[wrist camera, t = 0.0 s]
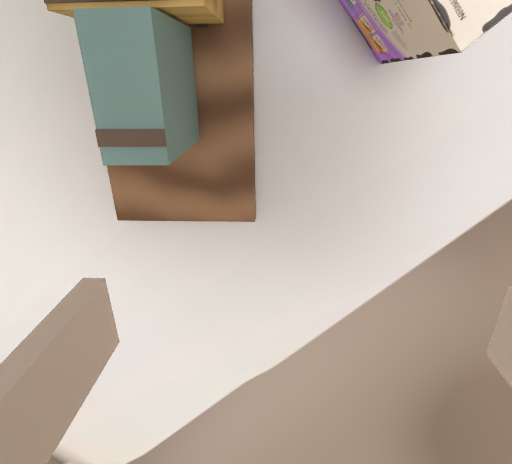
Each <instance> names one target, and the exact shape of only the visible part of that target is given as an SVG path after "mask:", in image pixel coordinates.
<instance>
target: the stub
mask: <svg viewBox="0 0 512 464" xmlns="http://www.w3.org/2000/svg"><path fill="white" fill-rule="evenodd" d="M73 13H74V18H75V23H76V28H77V34H78V39H79V44H80V49H81V54H82V59H83V64H84V69H85V74H86V79H87V84H88V89H89V94H90V99H91V104H92V109H93V114H94V119H95V124H96V130H95V132H96V137H97V142H98V147H100V150H101V155H102V160H103V165H170V164H171V163H173V162H174V161H175V160H176V159H177V158H179V157H180V156H181V155H182V154H183V153H185V152H186V151H187V150H188V149H189V148H191V147H192V146H193V145H194V144H195V143H197V142H198V141H199V140H200V135H199V123H198V110H197V98H196V85H195V73H194V60H193V48H192V35H191V27H189V26H187V25H185V24H183V23H181V22H179V21H177V20H175V19H173V18H172V17H170V16H168V15H166V14H164V13H162V12H160V11H158V10H156V9H154V8H152V7H150V6H145V7H110V8H74V9H73Z"/></svg>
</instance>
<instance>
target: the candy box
mask: <svg viewBox="0 0 512 464" xmlns="http://www.w3.org/2000/svg"><path fill="white" fill-rule="evenodd" d="M340 2H341V3H342V5H343V6H344V8H345V9H346V10H347V12H348V14H349V15H350V17H351V18H352V20H353V21H354V23H355V24H356V26H357V27H358V29H359V30H360V32H361V33H362V35H363V36H364V38H365V39H366V41H367V43H368V44H369V46H370V48H371V49H372V51H373V52H374V54H375V56H376V57H377V59H378V60H379V62H380V63H381V64H384V63H390V62H397V61H404V60H411V59H418V58H424V57H431V56H438V55H445V54H453V53H461V52H462V51H463V50H465V49H466V48H467V47H468V46H470V45H471V44H472V43H474V42H475V41H476V40H477V39H479V38H480V37H481V36H482V35H483V34H485V33H486V32H487V31H488V30H489V29H491V28H492V27H493V26H494V25H496V24H497V23H498V22H500V21H501V20H502V19H503V18H504V17H506V16H507V15H508V14H510V13H511V12H512V0H340Z"/></svg>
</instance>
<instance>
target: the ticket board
mask: <svg viewBox="0 0 512 464" xmlns="http://www.w3.org/2000/svg"><path fill="white" fill-rule="evenodd" d="M44 3H46V5H47V10H48V11H52V12H56V13H59V14H63V15H67V16H70V17H74V13H73V9H74V8H110V7H145V6H150V7H152V8H154V9H156V10H158V11H160V12H162V13H164V14H166V15H168V16H170V17H172V18H173V19H175V20H177V21H179V22H181V23H183V24H185V25H187V26H189V27H191V35H192V48H193V60H194V73H195V85H196V98H197V110H198V123H199V135H200V140H199V141H198V142H197V143H195V144H194V145H193V146H192V147H191V148H189V149H188V150H187V151H186V152H185V153H183V154H182V155H181V156H180V157H179V158H177V159H176V160H175V161H174V162H173V163H171V164H170V165H107V168H108V173H109V178H110V183H111V188H112V193H113V199H114V204H115V209H116V214H117V219H118V220H140V221H239V222H255V159H254V98H253V37H252V0H44Z"/></svg>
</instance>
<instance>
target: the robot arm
mask: <svg viewBox="0 0 512 464" xmlns="http://www.w3.org/2000/svg"><path fill="white" fill-rule="evenodd" d="M118 343H119V338H118V334H117V329H116V325H115V320H114V316H113V311H112V307H111V303H110V298H109V294H108V289H107V285H106V281H105V278H83V279H82V280H81V281H80V282H79V283H78V284H77V285H76V286H75V287H74V288H73V289H72V290H71V291H70V292H69V293H68V294H67V295H66V296H65V297H64V298H63V299H62V300H61V302H60V303H59V304H58V305H57V306H56V307H55V308H54V309H53V310H52V311H51V312H50V313H49V314H48V315H47V316H46V317H45V318H44V319H43V320H42V321H41V322H40V323H39V324H38V325H37V327H36V328H35V329H34V330H33V331H32V332H31V333H30V334H29V335H28V336H27V337H26V338H25V339H24V340H23V341H22V342H21V343H20V344H19V345H18V346H17V347H16V348H15V349H14V350H13V352H12V353H11V354H10V355H9V356H8V357H7V358H6V359H5V360H4V361H3V362H2V363H1V364H0V464H47V462H48V461H49V459H50V457H51V456H52V454H53V452H54V451H55V449H56V447H57V446H58V444H59V442H60V441H61V439H62V437H63V436H64V434H65V432H66V431H67V429H68V427H69V426H70V424H71V422H72V421H73V419H74V417H75V416H76V414H77V412H78V410H79V409H80V407H81V405H82V404H83V402H84V400H85V399H86V397H87V395H88V394H89V392H90V390H91V389H92V387H93V385H94V384H95V382H96V380H97V379H98V377H99V375H100V374H101V372H102V370H103V369H104V367H105V365H106V363H107V362H108V360H109V358H110V357H111V355H112V353H113V352H114V350H115V348H116V347H117V345H118ZM486 354H487V355H488V357H489V358H490V359H491V361H492V362H493V363H494V365H495V366H496V368H497V369H498V370H499V372H500V373H501V374H502V376H503V377H504V378H505V380H506V381H507V382H508V384H509V385H510V386H511V388H512V287H509V288H508V291H507V294H506V297H505V300H504V303H503V306H502V308H501V311H500V314H499V317H498V320H497V323H496V326H495V329H494V332H493V335H492V338H491V341H490V344H489V347H488V350H487V353H486Z"/></svg>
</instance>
